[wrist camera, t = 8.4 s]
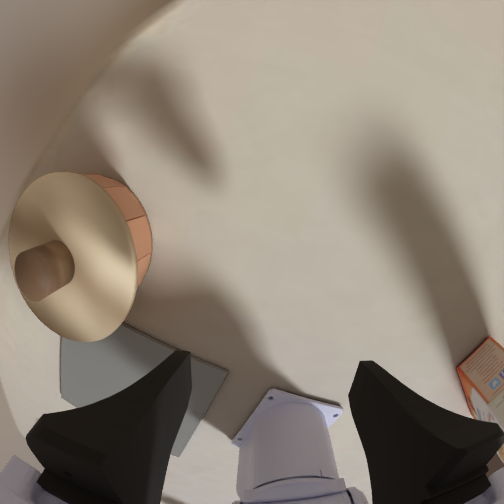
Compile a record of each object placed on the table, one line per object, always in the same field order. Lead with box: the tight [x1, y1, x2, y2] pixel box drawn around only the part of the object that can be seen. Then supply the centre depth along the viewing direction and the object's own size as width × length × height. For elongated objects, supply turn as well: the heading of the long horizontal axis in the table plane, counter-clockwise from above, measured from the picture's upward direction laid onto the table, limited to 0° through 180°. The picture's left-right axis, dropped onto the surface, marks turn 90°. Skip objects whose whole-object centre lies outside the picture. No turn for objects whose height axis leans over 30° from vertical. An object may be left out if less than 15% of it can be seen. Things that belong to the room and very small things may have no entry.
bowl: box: [81, 174, 152, 287], centre depth 18 cm, size 10×10×4 cm
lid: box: [9, 172, 138, 342], centre depth 14 cm, size 12×12×4 cm
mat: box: [61, 322, 228, 457], centre depth 23 cm, size 16×16×1 cm
